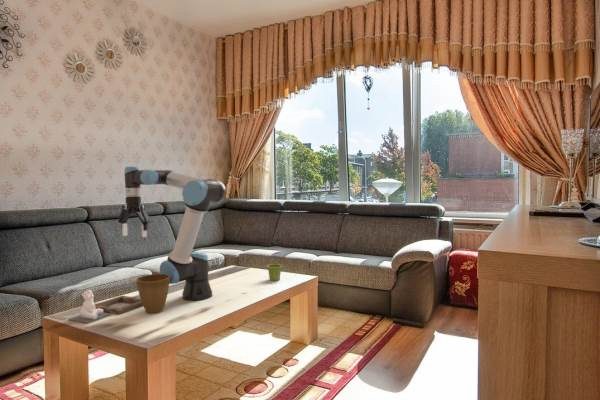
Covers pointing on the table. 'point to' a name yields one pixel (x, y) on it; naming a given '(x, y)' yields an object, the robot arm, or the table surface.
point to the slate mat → (85, 320)
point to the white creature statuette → (89, 306)
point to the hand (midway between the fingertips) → (134, 236)
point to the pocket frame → (113, 310)
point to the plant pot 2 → (274, 271)
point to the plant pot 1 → (153, 291)
